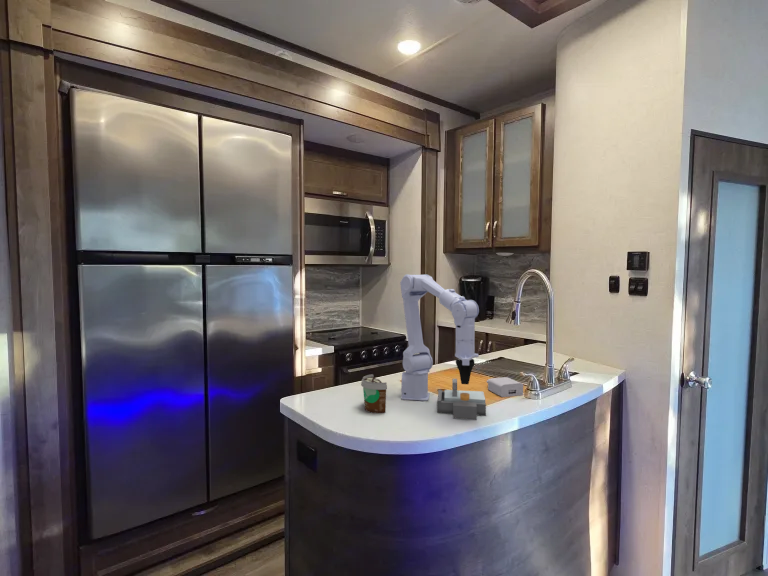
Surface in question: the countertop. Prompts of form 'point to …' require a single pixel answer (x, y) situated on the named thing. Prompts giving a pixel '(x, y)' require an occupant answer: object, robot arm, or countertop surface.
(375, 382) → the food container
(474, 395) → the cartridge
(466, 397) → the plunger
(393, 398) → the countertop surface
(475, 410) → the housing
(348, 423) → the countertop surface
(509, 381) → the charger
